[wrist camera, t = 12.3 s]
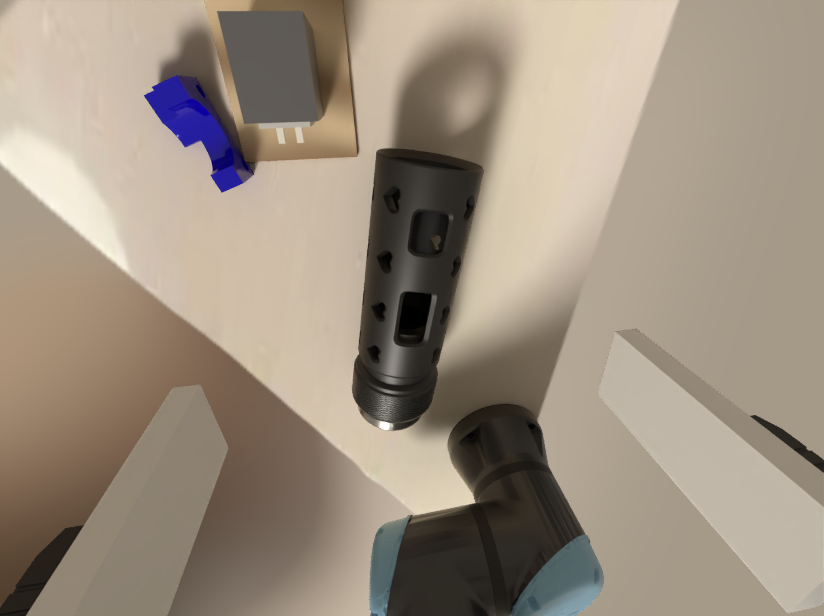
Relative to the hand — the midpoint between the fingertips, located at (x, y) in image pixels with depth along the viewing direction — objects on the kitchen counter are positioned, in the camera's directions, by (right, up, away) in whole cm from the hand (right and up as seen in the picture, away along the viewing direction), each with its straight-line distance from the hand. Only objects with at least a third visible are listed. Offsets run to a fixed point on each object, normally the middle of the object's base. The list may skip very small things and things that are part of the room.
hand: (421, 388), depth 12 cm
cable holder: (-18, +18, +19) cm, 32 cm away
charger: (-11, +22, +17) cm, 30 cm away
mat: (-11, +22, +18) cm, 30 cm away
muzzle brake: (-2, +6, +29) cm, 30 cm away
